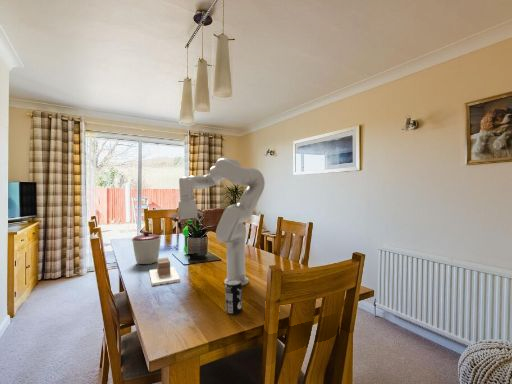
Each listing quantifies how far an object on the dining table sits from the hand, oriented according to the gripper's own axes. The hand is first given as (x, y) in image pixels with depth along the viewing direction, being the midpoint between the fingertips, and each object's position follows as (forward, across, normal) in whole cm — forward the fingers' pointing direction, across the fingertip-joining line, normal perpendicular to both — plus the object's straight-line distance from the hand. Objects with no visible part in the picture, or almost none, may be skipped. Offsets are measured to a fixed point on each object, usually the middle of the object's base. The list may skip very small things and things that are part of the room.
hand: (188, 228), depth 156 cm
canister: (+25, +21, -37) cm, 49 cm away
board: (+26, +15, -2) cm, 30 cm away
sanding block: (+24, +15, -5) cm, 28 cm away
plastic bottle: (+25, -9, -44) cm, 52 cm away
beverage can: (+28, -5, +56) cm, 62 cm away
